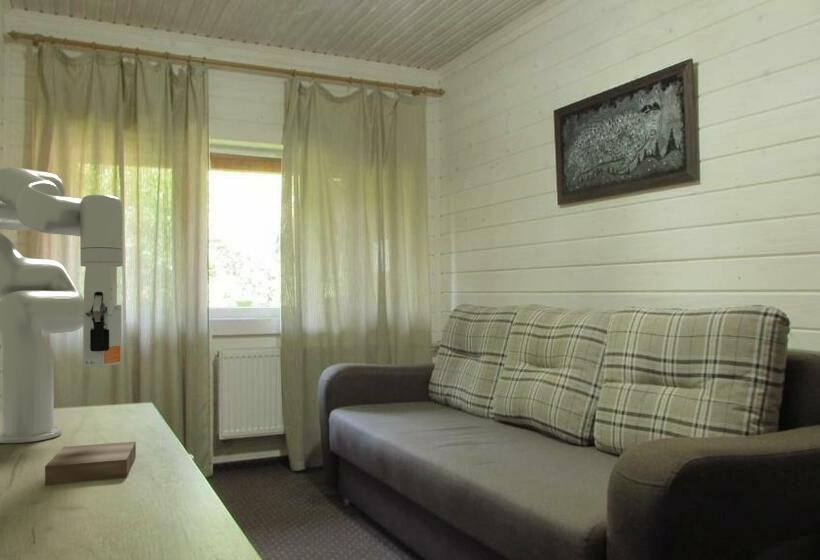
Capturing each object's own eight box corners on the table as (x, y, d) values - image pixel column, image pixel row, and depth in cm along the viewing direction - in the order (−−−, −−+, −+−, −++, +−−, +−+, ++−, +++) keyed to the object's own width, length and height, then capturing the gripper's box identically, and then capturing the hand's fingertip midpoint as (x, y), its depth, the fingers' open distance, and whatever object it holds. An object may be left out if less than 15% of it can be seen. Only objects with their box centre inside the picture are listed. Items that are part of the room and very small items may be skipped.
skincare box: (102, 367, 121) (102, 304, 121) (82, 367, 121) (82, 304, 122) (122, 364, 127) (122, 304, 127) (103, 364, 127) (103, 304, 128)
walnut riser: (63, 463, 115) (63, 446, 115) (135, 457, 118) (135, 441, 118) (44, 485, 101) (45, 466, 101) (126, 477, 105) (126, 459, 105)
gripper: (87, 261, 132) (88, 347, 131) (72, 255, 115) (73, 353, 115) (127, 261, 134) (127, 345, 133) (117, 255, 118) (118, 351, 117)
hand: (102, 348), depth 124 cm, fingers closed on skincare box, 7 cm apart
